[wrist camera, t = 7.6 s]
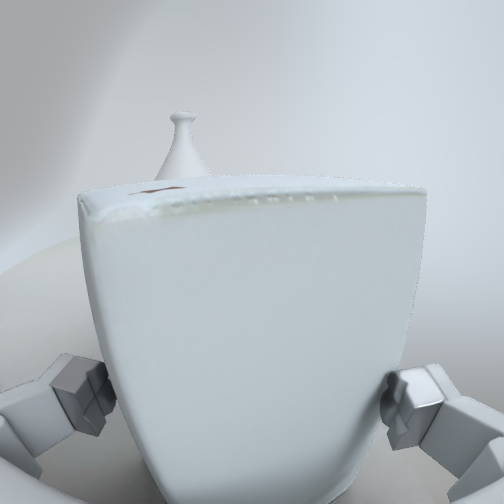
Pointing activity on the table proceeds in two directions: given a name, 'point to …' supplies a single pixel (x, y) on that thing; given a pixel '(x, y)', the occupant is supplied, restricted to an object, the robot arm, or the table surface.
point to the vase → (183, 152)
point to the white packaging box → (252, 325)
